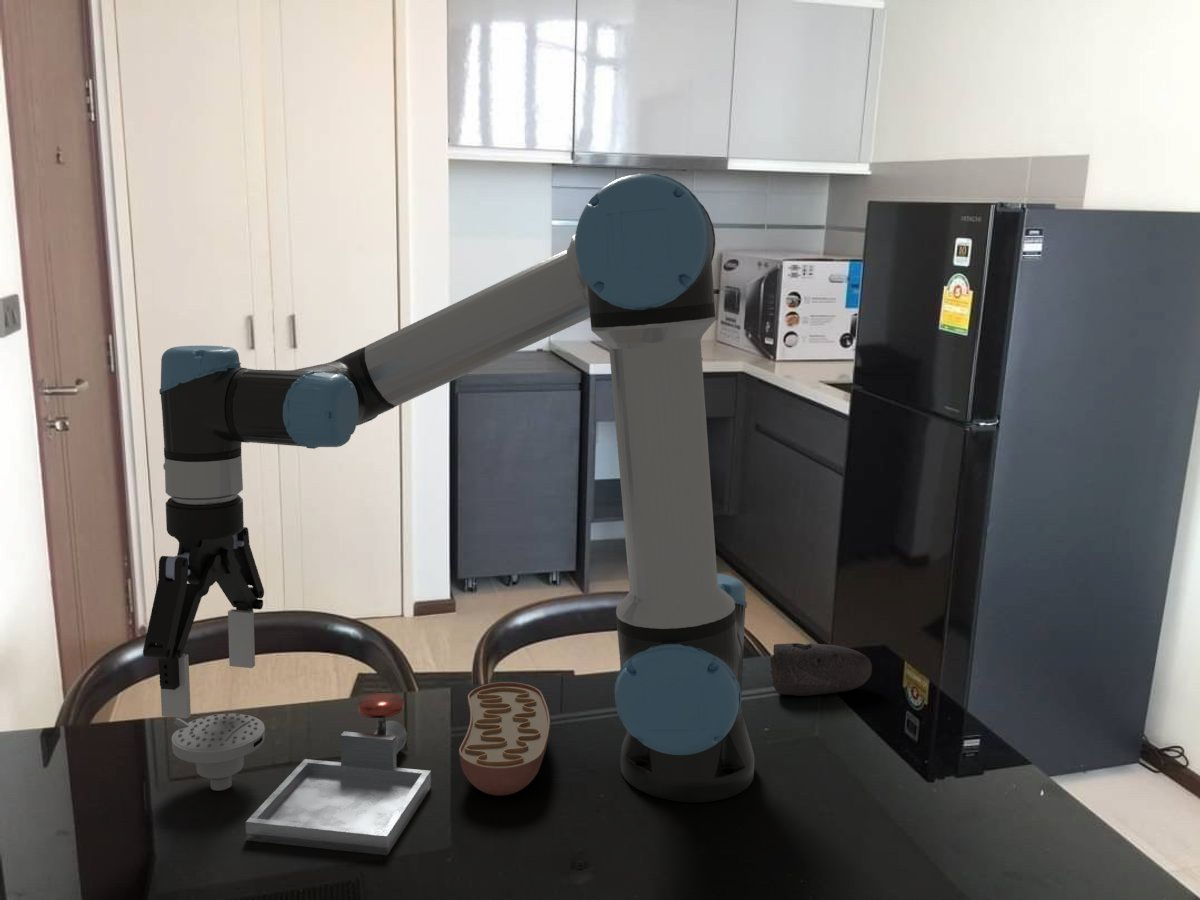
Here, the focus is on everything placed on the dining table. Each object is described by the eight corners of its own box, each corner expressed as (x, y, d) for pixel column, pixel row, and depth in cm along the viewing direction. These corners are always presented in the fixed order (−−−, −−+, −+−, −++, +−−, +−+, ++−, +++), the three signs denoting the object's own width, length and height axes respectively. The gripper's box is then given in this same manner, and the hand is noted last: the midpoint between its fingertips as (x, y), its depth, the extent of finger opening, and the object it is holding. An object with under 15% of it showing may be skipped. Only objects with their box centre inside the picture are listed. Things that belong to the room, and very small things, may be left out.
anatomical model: (469, 719, 132) (469, 681, 131) (548, 718, 132) (548, 681, 131) (455, 812, 109) (455, 768, 108) (550, 811, 110) (551, 767, 109)
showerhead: (198, 700, 118) (280, 709, 116) (201, 760, 119) (282, 770, 117) (147, 736, 109) (234, 747, 107) (151, 801, 110) (237, 812, 108)
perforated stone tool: (863, 682, 145) (866, 635, 144) (878, 698, 140) (882, 648, 139) (759, 687, 143) (761, 639, 142) (771, 702, 138) (773, 653, 137)
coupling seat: (387, 855, 100) (385, 784, 99) (246, 840, 103) (243, 770, 101) (452, 754, 121) (451, 694, 120) (334, 744, 124) (332, 685, 122)
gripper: (230, 471, 121) (236, 645, 124) (95, 521, 96) (107, 736, 100) (291, 475, 119) (295, 651, 123) (171, 527, 95) (180, 744, 99)
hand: (211, 689), depth 112 cm, fingers open, 13 cm apart
